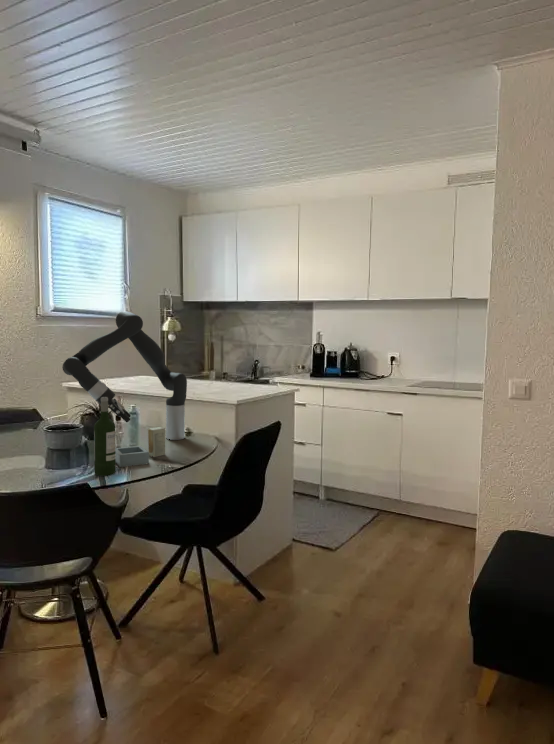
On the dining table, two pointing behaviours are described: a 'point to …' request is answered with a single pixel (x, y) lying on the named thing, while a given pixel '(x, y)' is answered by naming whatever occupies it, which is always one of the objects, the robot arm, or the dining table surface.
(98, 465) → the wine bottle
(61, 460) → the dining table surface
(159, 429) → the skincare box
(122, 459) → the ceramic holder
